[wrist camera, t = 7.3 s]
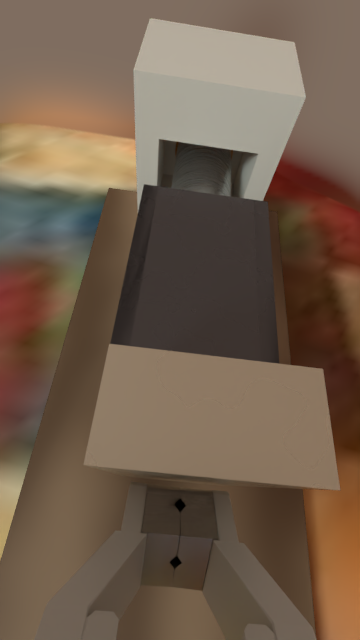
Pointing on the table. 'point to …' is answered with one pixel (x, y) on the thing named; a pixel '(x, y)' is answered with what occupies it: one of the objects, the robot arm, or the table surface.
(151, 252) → the sleeve
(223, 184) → the tube
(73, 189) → the table surface
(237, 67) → the socket
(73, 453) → the base board
